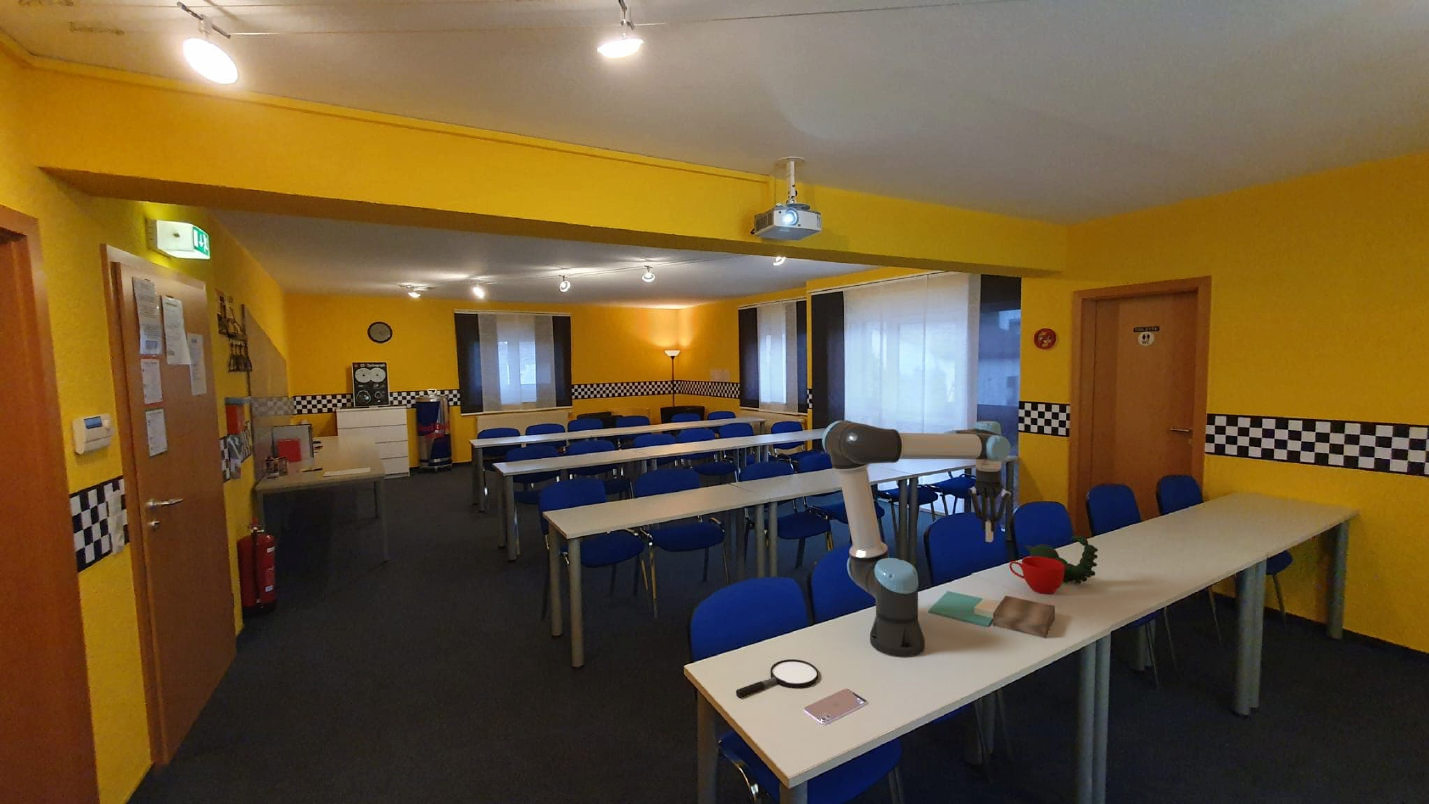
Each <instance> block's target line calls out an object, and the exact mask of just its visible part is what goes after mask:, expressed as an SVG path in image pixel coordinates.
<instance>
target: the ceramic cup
mask: <svg viewBox="0 0 1429 804" xmlns="http://www.w3.org/2000/svg"><path fill="white" fill-rule="evenodd" d="M1013 564H1015V565H1018V566H1019V567H1020V569H1021V571H1022V574H1019V572H1016V571H1015V570H1014V568H1013ZM1064 569H1065V567H1064V564H1063V563H1062V562H1060V561H1057V560H1054V559H1051V558H1046V557H1030V556H1026V557H1023V558H1022V559H1021V563H1020V562H1018V561H1016V560H1015V561H1011V562H1009V570H1010V571H1011V573H1013V574H1014V575H1015V576H1017V577H1019V578H1021V579H1023V580H1025V583H1026V584H1027V585H1028V586H1029V588H1030V589H1031V590H1032V591H1033V592H1034V591H1035V593H1037V594H1043V595H1052V594H1054V593H1055V592H1056V591H1057V590H1058V589H1059V588H1060V587H1061V585H1062V583H1063V578H1064Z"/></svg>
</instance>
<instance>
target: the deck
mask: <svg viewBox="0 0 1429 804" xmlns="http://www.w3.org/2000/svg"><path fill="white" fill-rule="evenodd" d="M1000 602H1001V603H1000V604H999V606H998V607H997V608H996V610H995V611H994V612H993V621H992V627H993V626H994V627H997V626H998V627H997V628H1000V629H1001V628H1002V629H1005V628H1006V630H1009V631H1010V630H1011V631H1014V632H1018V633H1022V634H1027V635H1031V636H1034V635H1035V637H1038V636H1039V637H1038V638H1042V637H1043V639H1046V638H1047V636H1048V634H1049V632H1050V629H1051V628H1050V627H1052V625H1053V623H1054V621H1055V620H1056V606H1055V605H1053V604H1048V603H1043V602H1039V601H1033V600H1028V599H1023V598H1018V597H1014V596H1009V595H1005V596H1004V597H1003V599H1002V600H1001V601H1000ZM1048 631H1049V632H1048ZM1046 635H1047V636H1046Z"/></svg>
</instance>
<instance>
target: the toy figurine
mask: <svg viewBox="0 0 1429 804" xmlns="http://www.w3.org/2000/svg"><path fill="white" fill-rule="evenodd" d="M1070 541H1077V542H1078V543H1079V544H1080V545H1081V546H1083V547H1084V548H1083V552H1082V553H1081V558H1080V559H1079V563H1078V564H1077V565H1074V564H1073V563H1068V561H1067V560H1066V559H1065V558H1062V557H1060V555H1059V553H1058V551H1057V550H1056V549H1055V548H1054V547H1052V546H1051V545H1050V544H1049V545H1048V544H1037V545H1035V546H1031V545H1027V544H1025V545H1024V548H1025V549H1026V550H1027V551H1028V552H1029V553H1030V554H1029V557H1046V558H1051V559H1054V560H1057V561H1060V562H1062V563H1063V564H1064V567H1065V569H1064V578H1063V581H1062V583H1064V584H1068V583H1069V582H1074V583H1076V584H1077V585H1081V583H1082V582H1084V583H1085V582H1087V581H1088V578H1091V577H1094V576H1096V572H1095V571H1094V570H1093V568H1094V567H1095V568H1096V567H1097V566H1098V563H1097V562H1095V559H1096V560H1097V558H1098V555H1097V554H1096V553H1097V552H1098V551H1099V549H1098V548H1097V547H1095V546H1094V545H1093V544H1089V541H1088V539H1087V538H1086V537H1084V536H1082V535H1073V536H1071V537H1070Z"/></svg>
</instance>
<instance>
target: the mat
mask: <svg viewBox="0 0 1429 804" xmlns="http://www.w3.org/2000/svg"><path fill="white" fill-rule="evenodd" d="M983 599H984V598H982V597H977V596H973V595H968V594H963V593H959V592H955V591H950V590H947V591H946V592H945V593H944V594H943V595H942V596H941V597H940V598H939V599H938V600H937V601H936V602H935V603H934V604H933V605H932V606H931V608H929V609H928V611H927V613H929V614H933V615H937V616H941V617H944V618H949V619H952V620H956V619H957V620H958V621H961V622H965V623H969V624H973V625H978V626H981V627H986V628H989V626H990V625H991V624H992V623H993V618H989V617H985V616H981V615H977V614H974V607H975V606H976V605H977V604H978V603H979V602H981V601H982V600H983ZM986 599H987V598H986ZM987 600H989V599H987ZM995 601H996V602H998V601H997V600H995ZM999 602H1000V603H1001V601H999Z"/></svg>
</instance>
